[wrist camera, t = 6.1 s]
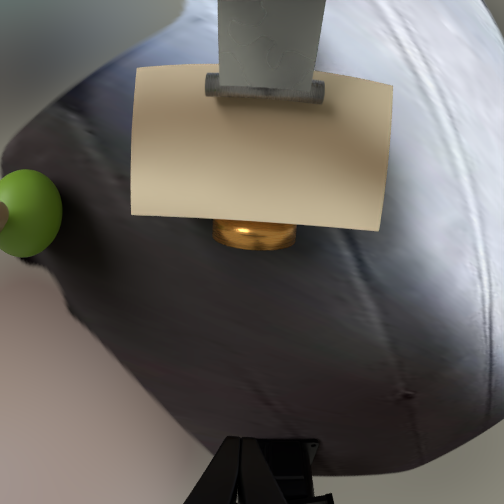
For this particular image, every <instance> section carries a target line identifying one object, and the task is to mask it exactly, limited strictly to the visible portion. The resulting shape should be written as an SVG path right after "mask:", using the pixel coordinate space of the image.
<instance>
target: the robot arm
mask: <svg viewBox="0 0 504 504" xmlns="http://www.w3.org/2000/svg"><path fill="white" fill-rule="evenodd" d="M240 445H241V446H240ZM318 446H319V441H318V440H316V439H308V440H268V439H255V438H253V437H242V438H240V437H237V436H227V437H226V438H225V439H224V441H223V443H222V444H221V446H220V448H219V449H218V451H217V452H216V454H215V456H214V457H213V459H212V460H211V462H210V464H209V465H208V467H207V468H206V470H205V472H204V473H203V475H202V476H201V478H200V479H199V481H198V482H197V484H196V486H195V487H194V488H193V490H192V492H191V493H190V495H189V496H188V497H187V499H186V500H185V502H184V503H183V504H334V501H333V496H332V493H329V494H325V495H323V496H316V497H315V496H314V488H313V480H312V472H311V464H312V461H313V459H314V456H315V454H316V451H317V449H318ZM237 491H238V496H237ZM237 499H238V503H236V500H237Z"/></svg>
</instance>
